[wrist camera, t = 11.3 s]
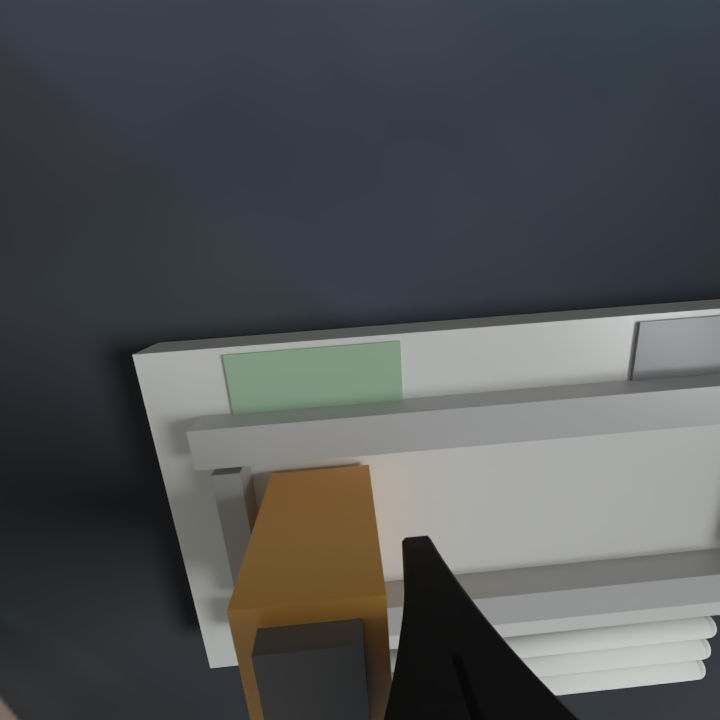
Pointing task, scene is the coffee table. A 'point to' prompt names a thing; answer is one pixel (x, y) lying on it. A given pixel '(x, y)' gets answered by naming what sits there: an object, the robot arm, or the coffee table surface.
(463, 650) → the robot arm
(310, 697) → the lever
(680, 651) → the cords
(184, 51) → the coffee table surface
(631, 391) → the white flat tray
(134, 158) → the coffee table surface
